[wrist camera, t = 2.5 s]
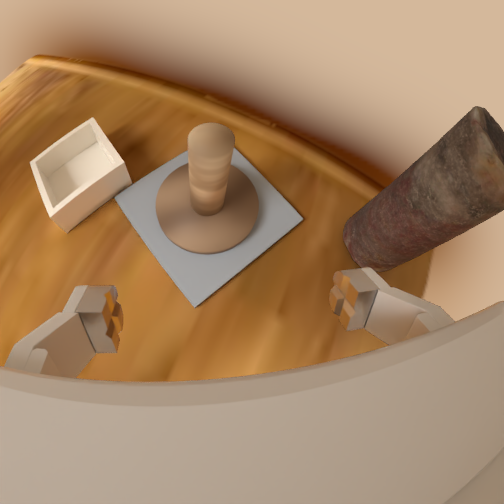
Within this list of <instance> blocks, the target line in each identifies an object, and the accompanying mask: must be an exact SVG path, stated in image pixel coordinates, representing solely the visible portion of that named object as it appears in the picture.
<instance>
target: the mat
mask: <svg viewBox="0 0 504 504" xmlns="http://www.w3.org/2000/svg"><path fill="white" fill-rule="evenodd" d="M187 163H188V150H187V151H185V152H184V153H182V154H180V155H179V156H177V157H175V158H173V159H172V160H170V161H169V162H167V163H165V164H164V165H162V166H160V167H159V168H157V169H156V170H154V171H152V172H151V173H149V174H148V175H146V176H145V177H143V178H142V179H140V180H139V181H137V182H136V183H134V184H133V185H131V186H130V187H128V188H127V189H125V190H124V191H122V192H121V193H120V194H118V195H117V196H115V197H114V198H115V200H116V201H117V203H118V205H119V206H120V208H121V209H122V211H123V212H124V214H125V215H126V217H127V218H128V219H129V221H130V222H131V224H132V225H133V227H134V228H135V230H136V231H137V232H138V234H139V235H140V237H141V238H142V240H143V241H144V242H145V244H146V245H147V247H148V248H149V249H150V251H151V252H152V253H153V255H154V256H155V258H156V259H157V260H158V262H159V263H160V264H161V266H162V267H163V268H164V270H165V271H166V272H167V274H168V275H169V276H170V277H171V279H172V280H173V281H174V283H175V284H176V285H177V286H178V288H179V289H180V290H181V292H182V293H183V294H184V295H185V297H186V298H187V299H188V300H189V302H190V303H191V304H192V305H193V306H194V308H196V307H197V306H198V305H199V304H201V303H202V302H203V301H204V300H206V299H207V298H208V297H209V296H211V295H212V294H213V293H214V292H215V291H217V290H218V289H219V288H220V287H222V286H223V285H224V284H225V283H227V282H228V281H229V280H230V279H231V278H233V277H234V276H235V275H236V274H238V273H239V272H240V271H241V270H243V269H244V268H245V267H246V266H247V265H249V264H250V263H251V262H252V261H254V260H255V259H256V258H257V257H259V256H260V255H261V254H262V253H263V252H265V251H266V250H267V249H268V248H270V247H271V246H272V245H273V244H274V243H276V242H277V241H278V240H279V239H281V238H282V237H283V236H284V235H285V234H287V233H288V232H289V231H290V230H291V229H293V228H294V227H295V226H296V225H298V224H299V223H300V222H301V221H302V220H303V218H302V217H301V216H300V215H299V214H298V213H297V211H296V210H295V209H294V208H293V207H292V206H291V205H290V204H289V203H288V202H287V201H286V200H285V199H284V198H283V196H282V195H281V194H280V193H279V192H278V191H277V190H276V189H275V188H274V187H273V186H272V185H271V184H270V183H269V182H268V181H267V180H266V179H265V178H264V177H263V176H262V175H261V174H260V173H259V172H258V171H257V170H256V169H255V168H254V167H253V166H252V165H251V164H250V163H249V162H248V161H247V160H246V159H245V158H244V157H243V156H242V155H241V154H240V153H239V152H238V151H237V150H236V149H235V148H234V149H233V154H232V160H231V165H232V166H234V167H236V168H238V169H239V170H240V171H242V172H243V173H244V174H245V175H246V176H247V177H248V178H249V179H250V180H251V182H252V183H253V185H254V187H255V189H256V192H257V195H258V200H259V211H258V216H257V219H256V222H255V224H254V226H253V228H252V230H251V232H250V233H249V235H248V236H247V237H246V238H245V239H244V240H243V241H242V242H241V243H240V244H238V245H237V246H235V247H234V248H232V249H230V250H228V251H225V252H222V253H217V254H209V255H204V254H196V253H192V252H188V251H186V250H184V249H181V248H180V247H178V246H177V245H175V244H174V243H173V242H171V241H170V240H169V239H168V237H167V236H166V235H165V234H164V232H163V231H162V229H161V227H160V224H159V221H158V218H157V215H156V197H157V193H158V190H159V188H160V186H161V184H162V183H163V181H164V180H165V179H166V178H167V176H168V175H169V174H170V173H172V172H173V171H174V170H175V169H177V168H178V167H180V166H182V165H184V164H187Z"/></svg>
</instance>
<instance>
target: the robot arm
mask: <svg viewBox="0 0 504 504" xmlns="http://www.w3.org/2000/svg"><path fill="white" fill-rule="evenodd" d="M333 282H334V284H335V285H334V287H333V288H332V289H331V290H330V295H329V303H330V307H331V309H332V311H333V312H334V313H335V314H337V315H339V316H340V317H339V321H340V323H341V324H342V326H343V327H344V329H345V330H346V331H350V330H356V329H361V328H364V329H365V330H367V331H368V332H370V333H371V334H373V335H374V336H376V337H377V338H379V339H380V340H382V341H383V342H385V343H386V344H388V345H389V346H387V347H383V348H380V349H377V350H373V351H370V352H366V353H362V354H358V355H355V356H351V357H346V358H342V359H338V360H334V361H329V362H325V363H320V364H315V365H310V366H305V367H300V368H294V369H289V370H283V371H277V372H270V373H263V374H256V375H249V376H240V377H231V378H221V379H209V380H194V381H172V382H124V381H102V380H88V379H77V378H76V376H77V375H78V374H79V373H80V372H81V371H82V369H83V368H84V367H85V366H86V365H87V364H88V362H89V361H90V360H91V359H92V358H93V357H94V356H95V354H96V353H117V351H118V346H119V341H120V338H119V335H118V334H119V333H120V332H121V331H122V328H123V312H122V308H121V305H120V304H119V303H118V302H117V301H116V300H117V297H118V294H117V290H116V287H115V286H114V285H90V286H89V285H82V286H76V287H75V289H74V291H73V292H72V294H71V296H70V298H69V300H68V302H67V304H66V306H65V308H64V310H63V311H62V313H57V314H56V315H54V316H53V317H51V318H50V319H49V320H47V321H46V322H44V323H43V324H42V325H40V326H39V327H37V328H36V329H35V330H33V331H32V332H31V333H29V334H28V335H27V336H25V337H24V338H23V339H21V340H20V341H19V342H17V343H16V344H15V345H14V347H13V349H12V351H11V353H10V355H9V357H8V359H7V361H6V363H5V366H4V367H3V366H0V504H504V301H500V302H497V303H495V304H494V305H491V306H490V307H487V308H485V309H483V310H481V311H479V312H477V313H475V314H472V315H470V316H468V317H466V318H463V319H461V320H459V321H456V322H455V321H454V320H453V319H452V318H451V317H450V316H449V315H448V314H447V313H446V312H445V311H444V310H443V309H442V308H441V307H440V306H437V305H435V304H432V303H430V302H428V301H426V300H423V299H421V298H419V297H416V296H414V295H411V294H409V293H407V292H404V291H402V290H399V289H397V288H395V287H392V288H391V287H390V286H389V285H388V284H387V283H386V282H385V281H384V280H383V279H382V278H381V277H380V276H379V275H378V274H377V273H376V272H375V271H374V270H373V269H372V268H370V267H364V268H358V269H350V270H342V271H336V272H335V274H334V277H333Z"/></svg>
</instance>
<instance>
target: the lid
mask: <svg viewBox="0 0 504 504" xmlns="http://www.w3.org/2000/svg"><path fill="white" fill-rule="evenodd" d="M234 144H235V137H234V134H233V132H232V131H231V130H230V129H229V128H227V127H226V126H224V125H221V124H218V123H204V124H201V125H199V126H197V127H195V128H194V129H193V130H192V131H191V132H190V133H189V136H188V163H187V164H184V165H182V166H180V167H178V168H177V169H175V170H174V171H173V172H172V173H170V174H169V175H168V176H167V178H166V179H165V180H164V181H163V183H162V184H161V186H160V188H159V190H158V193H157V197H156V215H157V218H158V221H159V224H160V227H161V229H162V231H163V232H164V234H165V235H166V236H167V237H168V239H169V240H170V241H171V242H173V243H174V244H175V245H177V246H178V247H180V248H181V249H184V250H186V251H188V252H192V253H196V254H204V255H209V254H217V253H222V252H225V251H228V250H230V249H232V248H234V247H235V246H237V245H238V244H240V243H241V242H242V241H243V240H244V239H245V238H246V237H247V236H248V235H249V233H250V232H251V230H252V228H253V226H254V224H255V222H256V219H257V216H258V211H259V200H258V195H257V192H256V189H255V187H254V185H253V183H252V182H251V180H250V179H249V178H248V177H247V176H246V175H245V174H244V173H243V172H242V171H240V170H239V169H238V168H236V167H234V166H232V165H231V160H232V154H233V149H234Z"/></svg>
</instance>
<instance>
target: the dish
mask: <svg viewBox="0 0 504 504" xmlns="http://www.w3.org/2000/svg"><path fill="white" fill-rule="evenodd" d="M30 165H31V168H32V171H33V174H34V177H35V180H36V183H37V186H38V189H39V191H40V194H41V197H42V199H43V202H44V204H45V207H46V209H47V212H48V214H49V217H50V218H51V219H52V220H53V221H54V222H55V223H56V224H57V225H58V226H59V227H60V228H62V229H63V230H64V231H65V232H66V233H68V232H69V231H70V230H71V229H73V228H74V227H75V226H76V225H77V224H79V223H80V222H81V221H82V220H84V219H85V218H86V217H88V216H89V215H90V214H91V213H93V212H94V211H95V210H97V209H98V208H99V207H101V206H102V205H103V204H105V203H106V202H107V201H109V200H110V199H111V198H113V197H114V196H116V195H117V194H118V193H120V192H121V191H123V190H124V189H126V188H127V187H129V186H130V185H131V184H132V181H131V179H130V176H129V173H128V171H127V168H126V165H125V163H124V161H123V160H122V158H121V157H120V155H119V154H118V153H117V151H116V150H115V148H114V147H113V146H112V144H111V143H110V141H109V140H108V138H107V137H106V135H105V134H104V133H103V131H102V130H101V128H100V127H99V125H98V124H97V122H96V121H95V119H94V118H93V117H92V118H91V119H89V120H87V121H86V122H84V123H83V124H81V125H80V126H78V127H77V128H75V129H74V130H72V131H71V132H69V133H68V134H66V135H65V136H63V137H62V138H61V139H59V140H58V141H56V142H55V143H54V144H52V145H51V146H50V147H48V148H47V149H46V150H45V151H43V152H42V153H41V154H39V155H38V156H37V157H36V158H35V159H33V160H32V161H31V162H30Z"/></svg>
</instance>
